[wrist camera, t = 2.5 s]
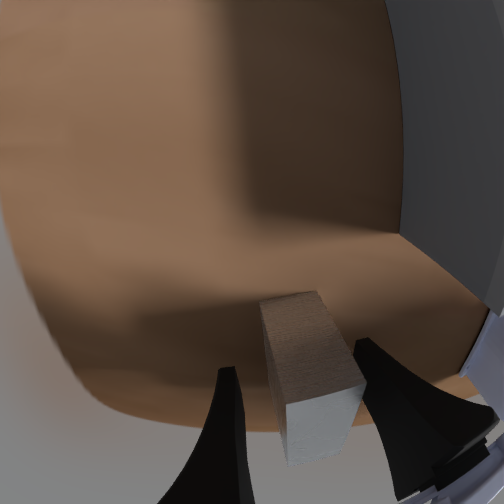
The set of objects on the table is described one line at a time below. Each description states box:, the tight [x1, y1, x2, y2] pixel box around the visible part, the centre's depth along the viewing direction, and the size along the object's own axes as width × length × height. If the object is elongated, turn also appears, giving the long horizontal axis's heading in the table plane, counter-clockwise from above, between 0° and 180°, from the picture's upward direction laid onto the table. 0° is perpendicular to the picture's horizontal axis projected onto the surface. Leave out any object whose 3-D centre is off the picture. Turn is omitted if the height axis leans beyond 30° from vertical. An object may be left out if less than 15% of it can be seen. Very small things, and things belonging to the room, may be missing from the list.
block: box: [259, 291, 367, 467], centre depth 10 cm, size 6×2×5 cm, turn 6°
